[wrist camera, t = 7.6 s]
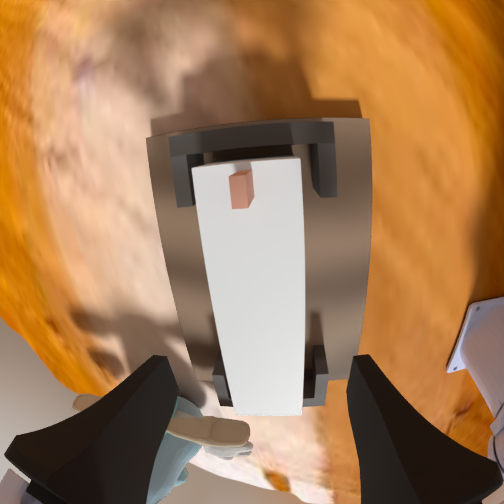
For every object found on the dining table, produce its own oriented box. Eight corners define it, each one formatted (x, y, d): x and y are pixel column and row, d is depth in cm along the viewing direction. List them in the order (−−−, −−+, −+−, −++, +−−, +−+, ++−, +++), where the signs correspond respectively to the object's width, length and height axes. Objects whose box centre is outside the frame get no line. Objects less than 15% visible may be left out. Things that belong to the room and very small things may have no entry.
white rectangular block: (220, 160, 15) (170, 173, 8) (294, 154, 15) (306, 161, 8) (245, 358, 20) (229, 441, 13) (300, 357, 20) (302, 442, 13)
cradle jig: (154, 138, 16) (120, 138, 12) (363, 120, 14) (388, 113, 10) (200, 371, 23) (187, 406, 19) (350, 368, 21) (359, 405, 17)
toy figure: (129, 417, 28) (86, 509, 14) (96, 358, 24) (24, 463, 10) (262, 435, 26) (247, 554, 12) (256, 375, 22) (231, 543, 8)
